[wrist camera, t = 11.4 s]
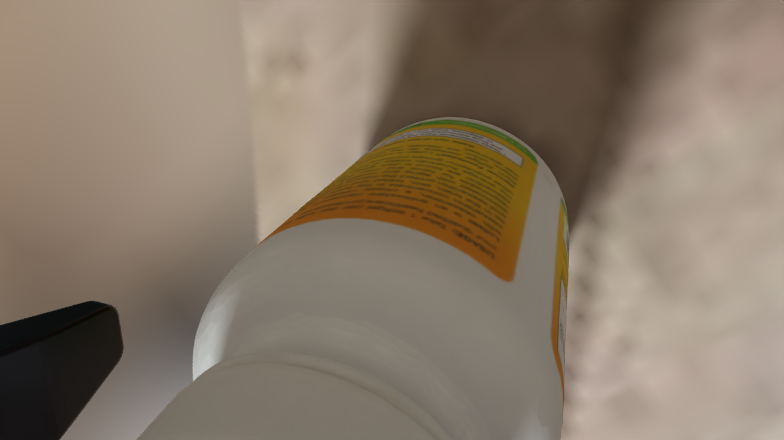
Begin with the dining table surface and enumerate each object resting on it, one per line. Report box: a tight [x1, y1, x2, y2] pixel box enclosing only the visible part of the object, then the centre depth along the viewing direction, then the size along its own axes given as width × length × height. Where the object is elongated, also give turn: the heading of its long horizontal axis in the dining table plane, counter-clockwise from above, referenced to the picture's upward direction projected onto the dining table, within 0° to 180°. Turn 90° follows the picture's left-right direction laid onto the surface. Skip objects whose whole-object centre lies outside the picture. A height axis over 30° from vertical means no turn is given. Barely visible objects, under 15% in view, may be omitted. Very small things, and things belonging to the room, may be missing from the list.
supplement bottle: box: [137, 117, 569, 440], centre depth 10 cm, size 5×5×10 cm
